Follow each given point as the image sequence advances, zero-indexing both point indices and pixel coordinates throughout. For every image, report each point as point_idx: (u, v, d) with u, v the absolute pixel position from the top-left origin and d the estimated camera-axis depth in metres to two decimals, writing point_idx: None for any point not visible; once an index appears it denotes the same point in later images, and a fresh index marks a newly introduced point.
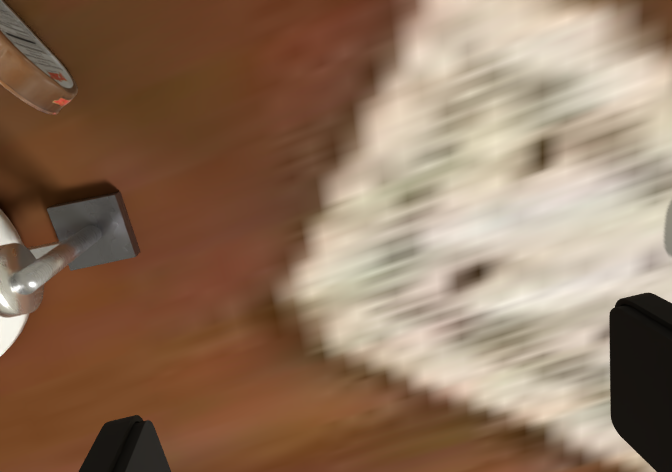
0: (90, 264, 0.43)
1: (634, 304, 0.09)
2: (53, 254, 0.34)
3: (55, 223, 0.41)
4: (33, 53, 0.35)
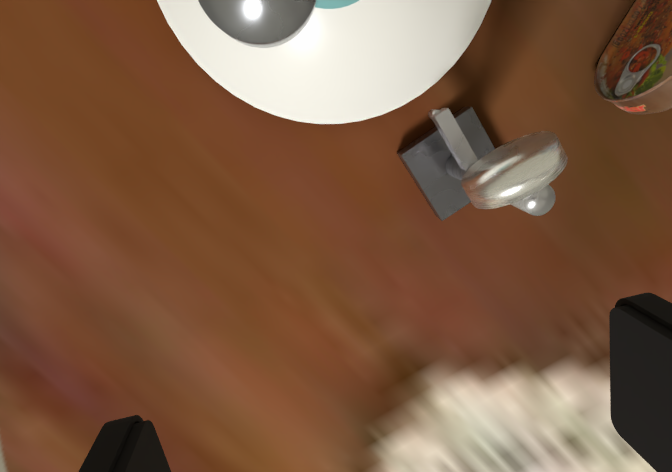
0: (416, 175, 0.34)
1: (634, 304, 0.09)
2: None
3: (456, 121, 0.33)
4: None
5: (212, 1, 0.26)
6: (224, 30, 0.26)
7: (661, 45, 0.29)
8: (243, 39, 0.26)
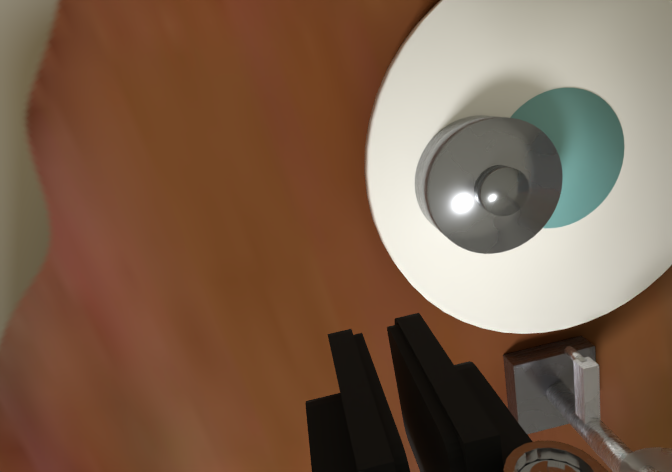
0: (517, 388, 0.33)
1: (398, 324, 0.09)
2: None
3: None
4: None
5: (443, 195, 0.23)
6: (439, 225, 0.24)
7: None
8: (452, 240, 0.24)
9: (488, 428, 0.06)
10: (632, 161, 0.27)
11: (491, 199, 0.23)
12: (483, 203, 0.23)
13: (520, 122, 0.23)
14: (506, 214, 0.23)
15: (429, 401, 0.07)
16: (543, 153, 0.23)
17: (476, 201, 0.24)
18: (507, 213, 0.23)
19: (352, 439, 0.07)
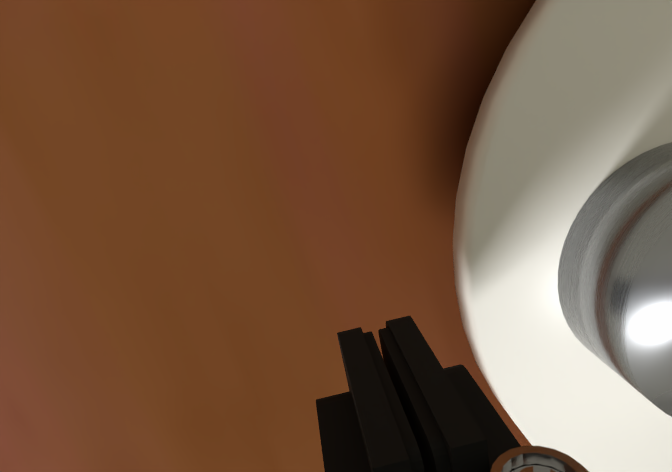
0: None
1: (389, 327, 0.09)
2: None
3: None
4: None
5: (654, 318, 0.11)
6: (638, 378, 0.11)
7: None
8: (662, 406, 0.11)
9: (475, 433, 0.06)
10: None
11: None
12: None
13: None
14: None
15: (417, 405, 0.07)
16: None
17: None
18: None
19: (366, 437, 0.07)
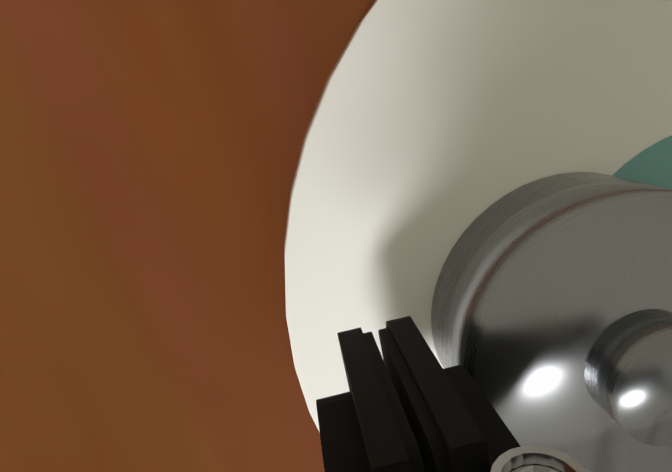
0: None
1: (389, 327, 0.09)
2: None
3: None
4: None
5: (508, 381, 0.09)
6: None
7: None
8: None
9: (475, 433, 0.06)
10: None
11: (642, 409, 0.09)
12: (619, 419, 0.09)
13: None
14: None
15: (417, 405, 0.07)
16: None
17: (588, 393, 0.09)
18: None
19: (366, 437, 0.07)
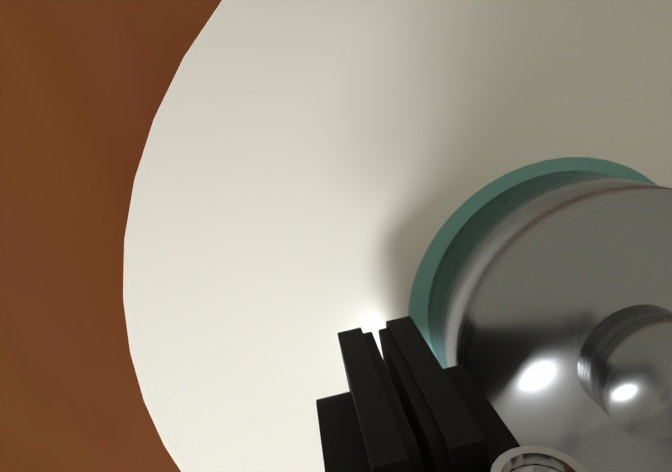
0: None
1: (389, 327, 0.09)
2: None
3: None
4: None
5: (502, 374, 0.09)
6: None
7: None
8: None
9: (475, 433, 0.06)
10: None
11: (633, 402, 0.09)
12: (611, 412, 0.09)
13: None
14: (664, 435, 0.09)
15: (417, 405, 0.07)
16: None
17: (581, 387, 0.10)
18: (667, 432, 0.09)
19: (366, 437, 0.07)
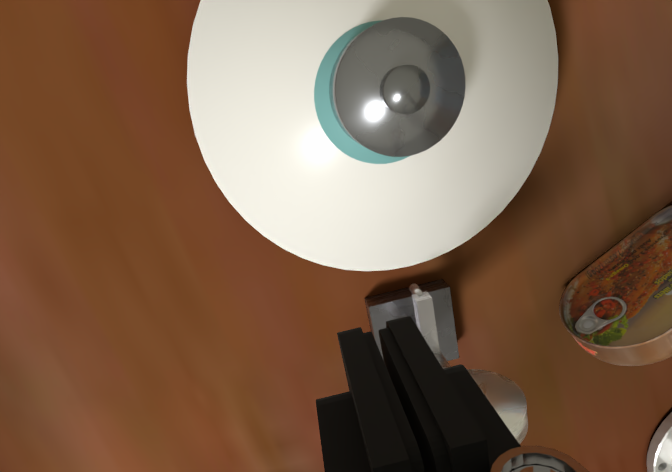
0: (375, 329, 0.33)
1: (389, 327, 0.09)
2: None
3: (430, 294, 0.33)
4: None
5: (349, 94, 0.24)
6: (346, 125, 0.24)
7: (628, 306, 0.32)
8: (360, 141, 0.25)
9: (475, 433, 0.06)
10: None
11: (393, 96, 0.23)
12: (385, 100, 0.23)
13: (423, 23, 0.23)
14: (409, 112, 0.24)
15: (417, 405, 0.07)
16: (446, 56, 0.24)
17: (382, 102, 0.24)
18: (409, 111, 0.24)
19: (366, 437, 0.07)
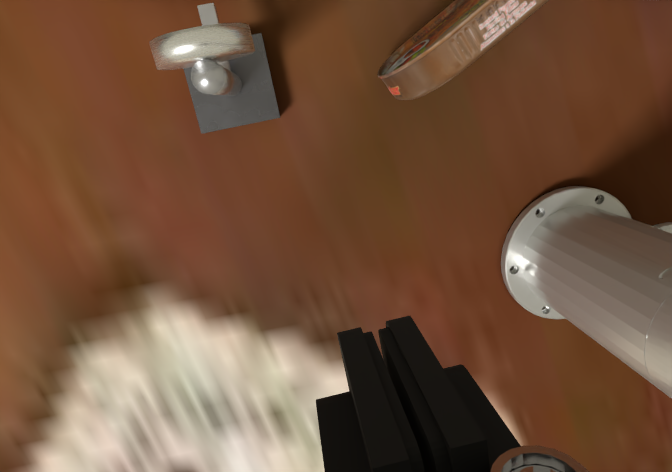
0: (188, 75, 0.33)
1: (389, 327, 0.09)
2: (231, 85, 0.26)
3: None
4: None
5: None
6: None
7: (430, 41, 0.32)
8: None
9: (475, 433, 0.06)
10: None
11: None
12: None
13: None
14: None
15: (417, 405, 0.07)
16: None
17: None
18: None
19: (366, 437, 0.07)
